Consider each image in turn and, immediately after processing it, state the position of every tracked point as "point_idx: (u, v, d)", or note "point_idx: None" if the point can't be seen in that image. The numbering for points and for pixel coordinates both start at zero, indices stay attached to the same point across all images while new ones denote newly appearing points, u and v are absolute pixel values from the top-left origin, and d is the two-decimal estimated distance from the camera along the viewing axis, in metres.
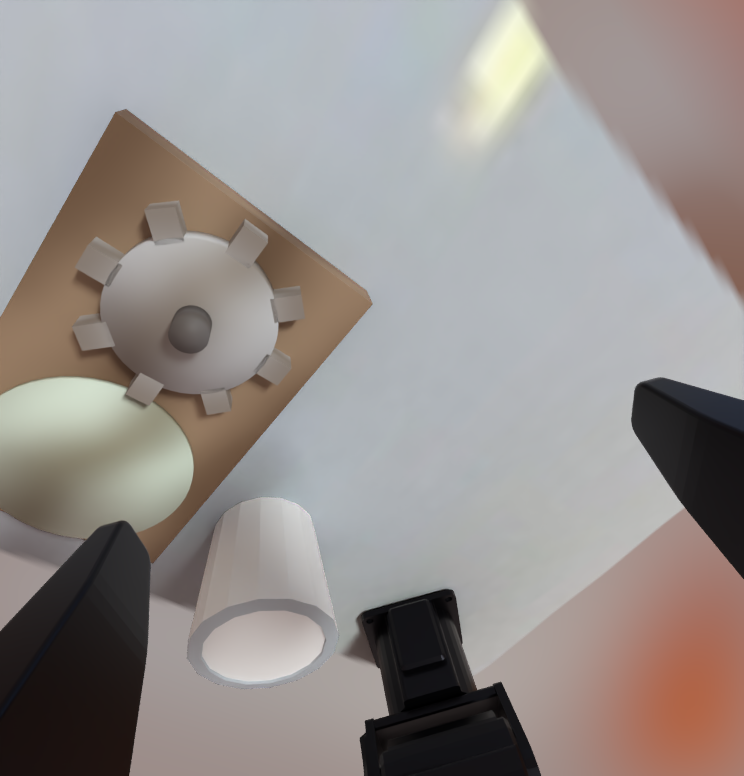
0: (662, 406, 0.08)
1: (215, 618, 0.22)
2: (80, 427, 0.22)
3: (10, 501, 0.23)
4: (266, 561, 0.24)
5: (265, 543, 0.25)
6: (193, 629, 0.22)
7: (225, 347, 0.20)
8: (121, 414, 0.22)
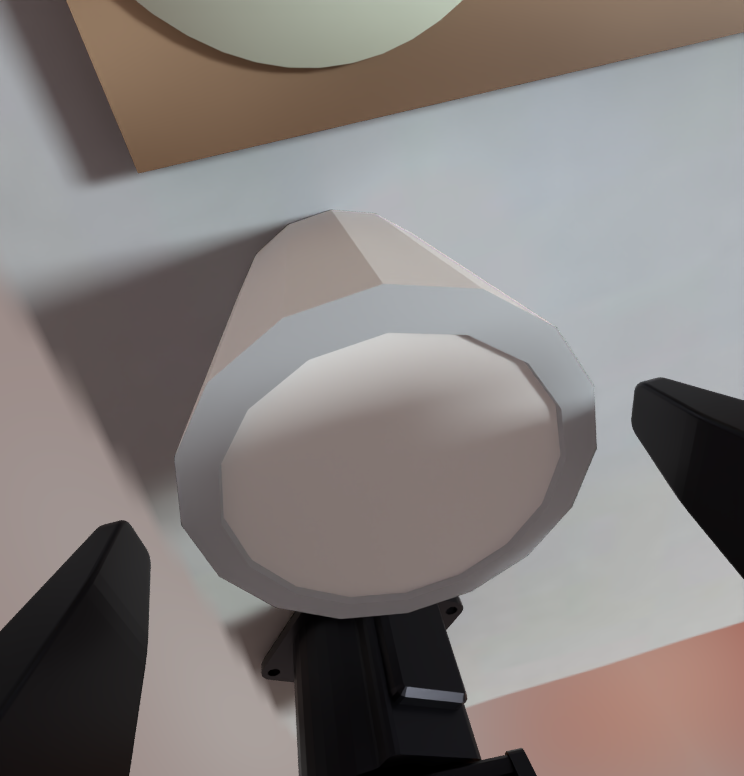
0: (663, 406, 0.08)
1: (422, 301, 0.07)
2: None
3: None
4: None
5: None
6: (311, 302, 0.07)
7: None
8: None
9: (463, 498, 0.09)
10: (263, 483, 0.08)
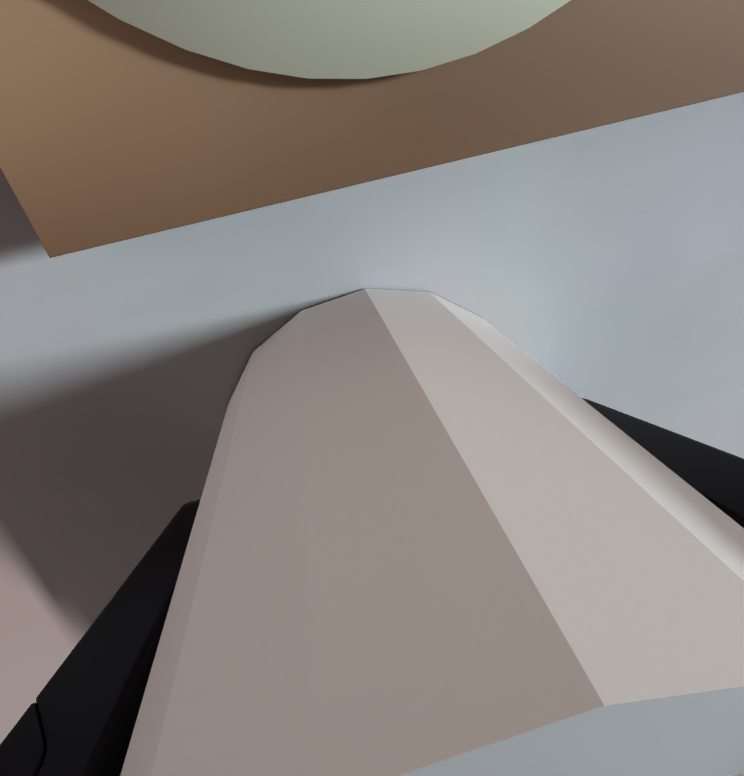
0: None
1: (693, 721, 0.02)
2: None
3: None
4: None
5: None
6: (393, 718, 0.02)
7: None
8: None
9: None
10: None
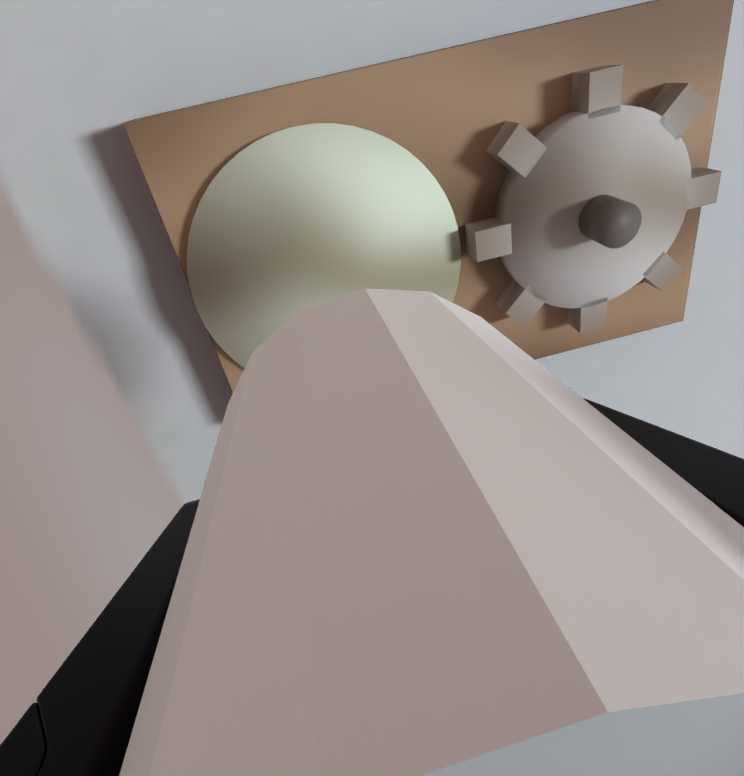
0: None
1: (698, 728, 0.02)
2: (377, 229, 0.16)
3: (207, 248, 0.16)
4: None
5: None
6: (393, 725, 0.02)
7: (590, 262, 0.18)
8: (426, 249, 0.17)
9: None
10: None
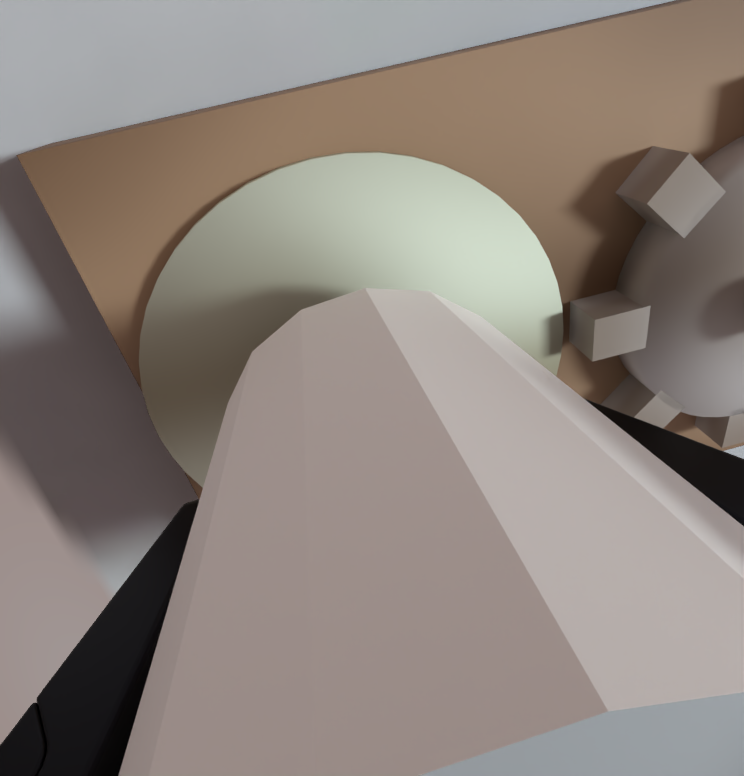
0: None
1: (698, 726, 0.02)
2: None
3: (172, 350, 0.10)
4: None
5: None
6: (393, 723, 0.02)
7: None
8: (512, 340, 0.11)
9: None
10: None
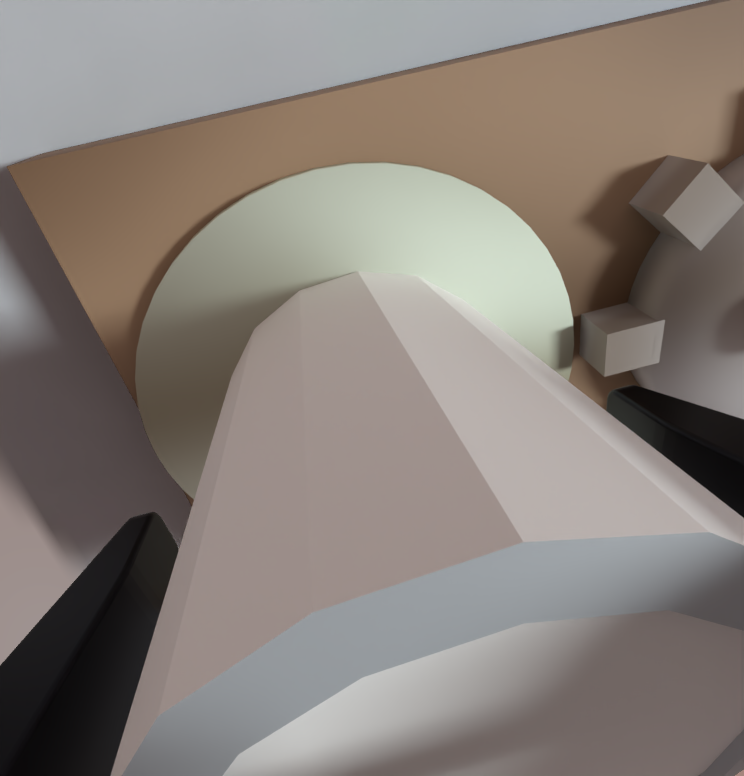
0: (632, 415, 0.08)
1: (594, 564, 0.03)
2: None
3: (169, 366, 0.09)
4: None
5: None
6: (369, 561, 0.03)
7: None
8: None
9: None
10: None
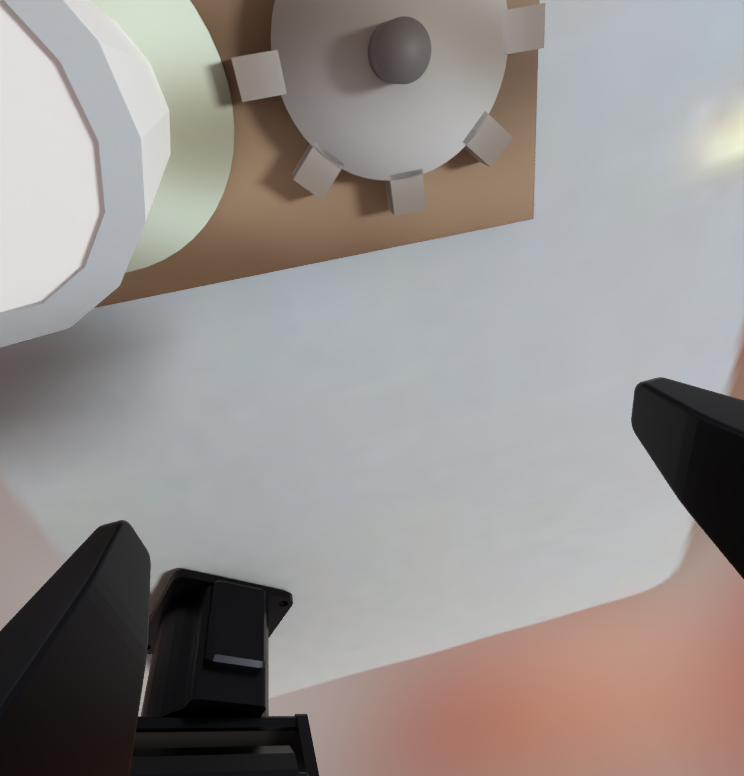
0: (663, 406, 0.08)
1: None
2: None
3: None
4: None
5: (91, 7, 0.10)
6: None
7: (393, 118, 0.14)
8: (183, 85, 0.14)
9: (2, 185, 0.08)
10: None
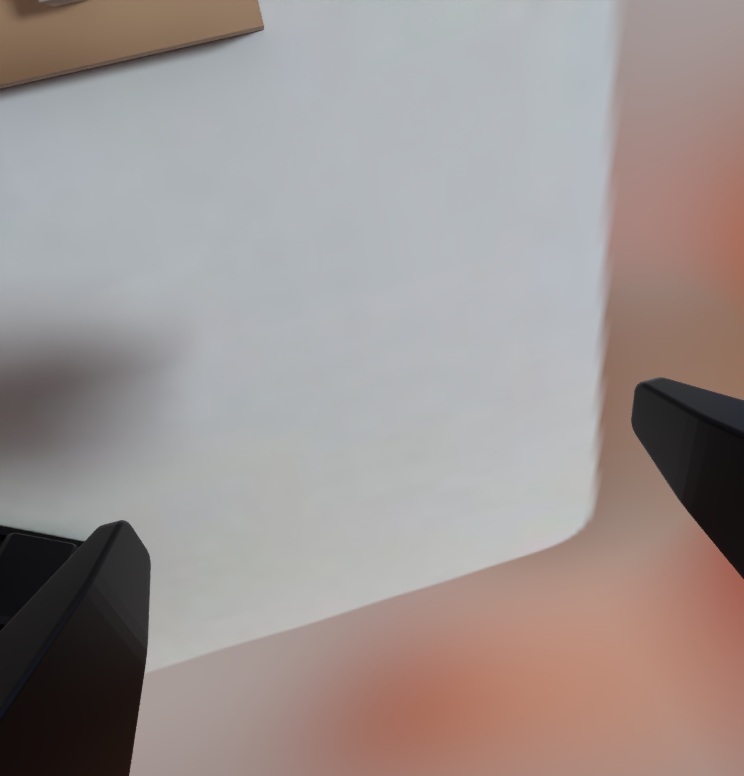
0: (662, 406, 0.08)
1: None
2: None
3: None
4: None
5: None
6: None
7: None
8: None
9: None
10: None
